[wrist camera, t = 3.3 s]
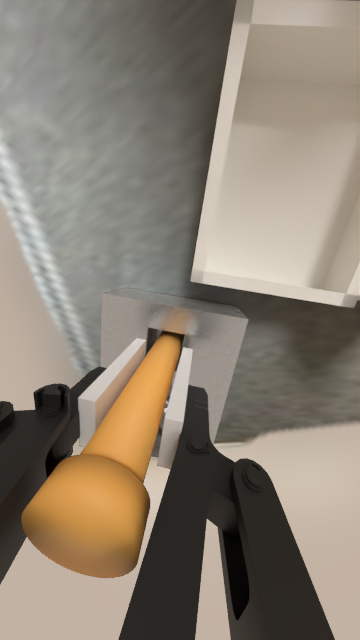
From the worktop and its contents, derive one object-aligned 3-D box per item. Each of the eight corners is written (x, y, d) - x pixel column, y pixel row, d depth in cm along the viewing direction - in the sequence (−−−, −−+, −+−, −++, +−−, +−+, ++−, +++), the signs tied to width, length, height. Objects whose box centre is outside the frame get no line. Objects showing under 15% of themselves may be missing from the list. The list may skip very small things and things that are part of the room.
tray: (228, 66, 13) (237, -3, 10) (414, 78, 12) (494, 5, 9) (192, 279, 18) (190, 281, 14) (323, 300, 17) (353, 308, 13)
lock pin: (161, 317, 18) (13, 484, 4) (190, 323, 18) (143, 521, 4) (157, 344, 19) (28, 556, 5) (185, 350, 19) (133, 590, 5)
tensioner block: (127, 287, 19) (80, 298, 12) (236, 306, 18) (258, 330, 11) (120, 403, 24) (83, 462, 16) (206, 423, 23) (208, 495, 15)
